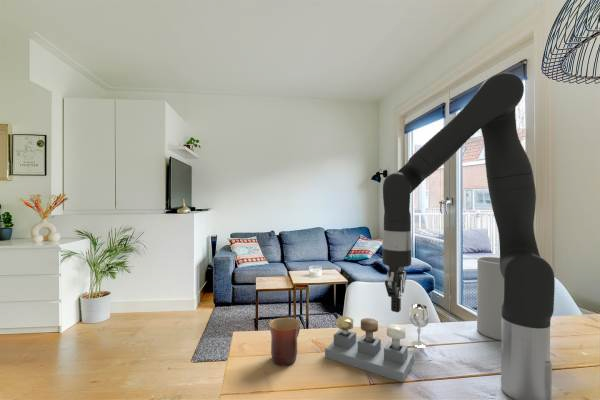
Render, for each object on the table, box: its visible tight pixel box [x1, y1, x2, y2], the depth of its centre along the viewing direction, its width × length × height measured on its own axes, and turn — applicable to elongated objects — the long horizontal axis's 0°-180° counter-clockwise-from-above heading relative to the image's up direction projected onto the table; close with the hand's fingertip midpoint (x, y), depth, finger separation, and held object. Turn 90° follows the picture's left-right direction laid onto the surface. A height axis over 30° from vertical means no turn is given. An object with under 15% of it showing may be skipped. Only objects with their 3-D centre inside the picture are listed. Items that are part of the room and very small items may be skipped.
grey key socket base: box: [324, 329, 415, 383], centre depth 87 cm, size 22×12×5 cm, turn 57°
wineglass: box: [408, 303, 430, 349], centre depth 96 cm, size 6×6×12 cm
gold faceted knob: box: [336, 316, 354, 337], centre depth 91 cm, size 5×5×6 cm
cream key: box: [386, 323, 406, 351], centre depth 83 cm, size 5×5×6 cm
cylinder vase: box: [476, 256, 504, 341], centre depth 104 cm, size 12×12×25 cm
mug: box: [268, 317, 301, 366], centre depth 88 cm, size 12×9×10 cm
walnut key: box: [360, 317, 379, 344], centre depth 87 cm, size 5×5×6 cm
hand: (395, 310), depth 83 cm, fingers closed
